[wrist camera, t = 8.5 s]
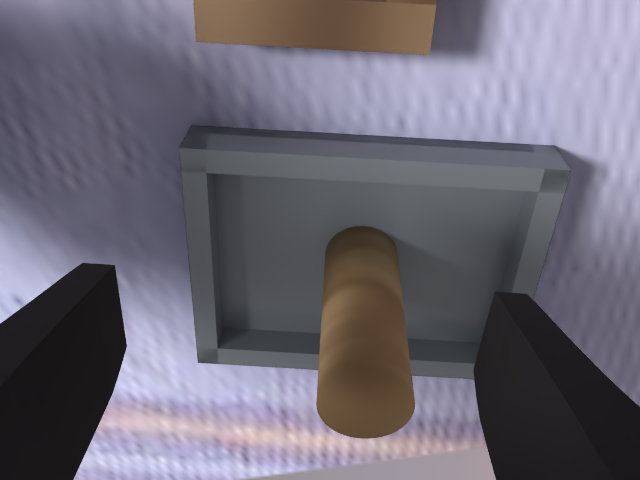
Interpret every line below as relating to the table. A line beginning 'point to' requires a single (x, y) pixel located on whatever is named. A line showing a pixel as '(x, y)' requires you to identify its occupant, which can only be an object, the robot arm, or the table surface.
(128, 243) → the table surface
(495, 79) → the table surface
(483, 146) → the tray
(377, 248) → the pin
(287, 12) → the socket
